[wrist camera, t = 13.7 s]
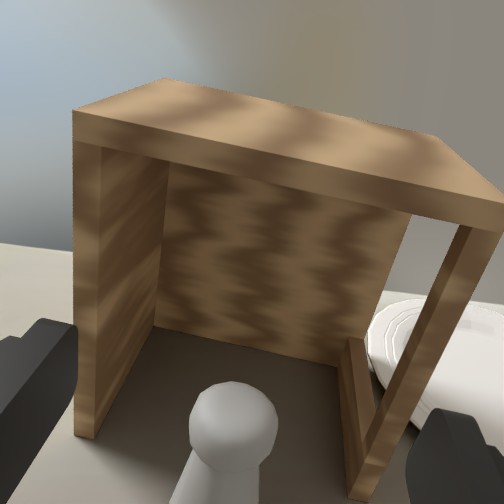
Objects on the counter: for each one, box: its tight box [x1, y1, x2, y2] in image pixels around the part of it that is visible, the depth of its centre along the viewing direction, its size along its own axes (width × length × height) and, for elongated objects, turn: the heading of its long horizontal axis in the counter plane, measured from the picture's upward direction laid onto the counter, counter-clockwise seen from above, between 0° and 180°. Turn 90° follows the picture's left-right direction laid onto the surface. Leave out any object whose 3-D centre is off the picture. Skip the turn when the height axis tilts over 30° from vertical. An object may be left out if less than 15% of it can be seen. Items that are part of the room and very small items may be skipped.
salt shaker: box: [169, 381, 278, 504], centre depth 24 cm, size 6×6×13 cm
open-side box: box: [72, 78, 504, 503], centre depth 34 cm, size 22×16×24 cm
